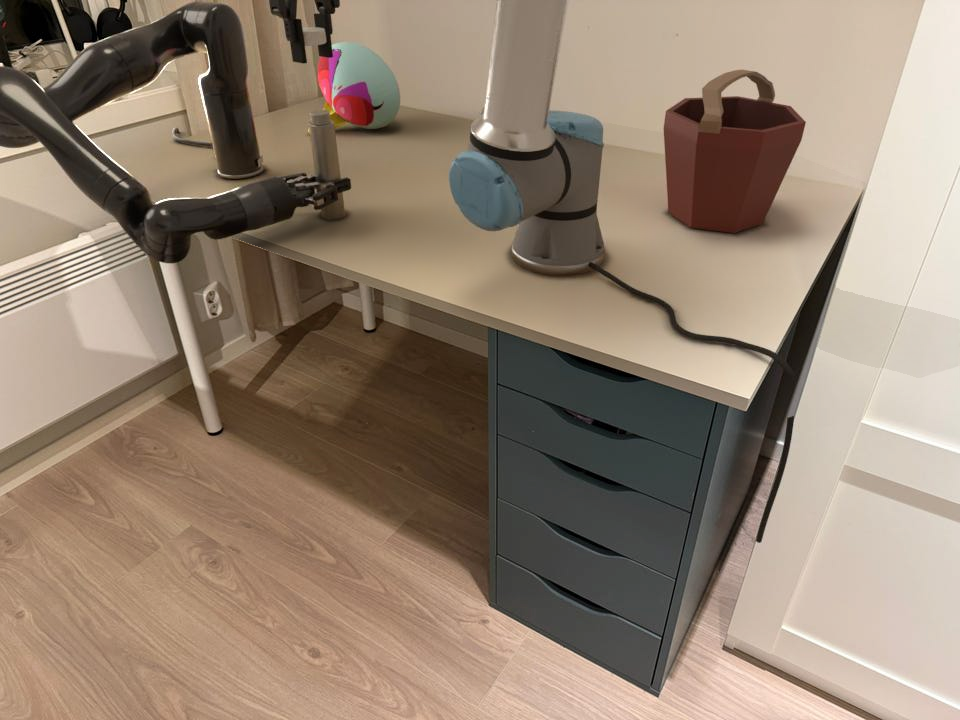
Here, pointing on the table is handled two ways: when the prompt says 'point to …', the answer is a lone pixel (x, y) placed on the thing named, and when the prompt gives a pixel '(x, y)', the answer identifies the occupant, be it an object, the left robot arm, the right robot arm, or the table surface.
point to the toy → (358, 87)
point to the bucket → (728, 154)
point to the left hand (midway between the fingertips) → (341, 179)
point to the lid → (314, 36)
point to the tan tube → (326, 158)
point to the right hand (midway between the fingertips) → (313, 59)
